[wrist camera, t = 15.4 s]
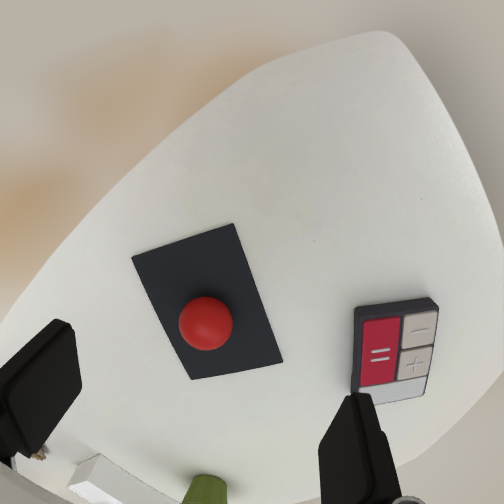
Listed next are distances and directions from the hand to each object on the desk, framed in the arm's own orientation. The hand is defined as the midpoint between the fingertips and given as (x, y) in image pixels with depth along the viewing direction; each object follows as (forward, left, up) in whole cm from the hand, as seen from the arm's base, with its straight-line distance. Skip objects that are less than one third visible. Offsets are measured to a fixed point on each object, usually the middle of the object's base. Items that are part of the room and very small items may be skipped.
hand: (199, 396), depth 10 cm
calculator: (+23, +12, -28) cm, 39 cm away
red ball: (+10, -9, -25) cm, 28 cm away
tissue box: (+54, -52, -28) cm, 80 cm away
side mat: (+10, -10, -28) cm, 32 cm away
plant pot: (+50, -27, -28) cm, 64 cm away
